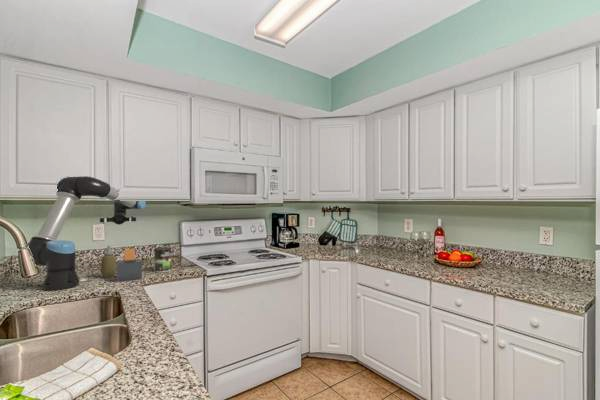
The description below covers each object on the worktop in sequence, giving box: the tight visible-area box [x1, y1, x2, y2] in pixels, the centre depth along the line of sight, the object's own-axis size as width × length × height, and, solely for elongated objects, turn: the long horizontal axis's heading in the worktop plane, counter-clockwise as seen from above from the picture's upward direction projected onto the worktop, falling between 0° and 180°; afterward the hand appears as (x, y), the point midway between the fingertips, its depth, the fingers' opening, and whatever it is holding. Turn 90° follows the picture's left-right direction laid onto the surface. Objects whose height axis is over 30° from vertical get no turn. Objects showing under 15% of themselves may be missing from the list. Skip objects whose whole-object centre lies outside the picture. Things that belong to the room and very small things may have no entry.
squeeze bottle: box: [100, 245, 117, 279], centre depth 177 cm, size 8×8×18 cm
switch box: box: [116, 258, 143, 283], centre depth 172 cm, size 12×8×10 cm, turn 118°
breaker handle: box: [122, 248, 136, 262], centre depth 170 cm, size 6×4×7 cm, turn 118°
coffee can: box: [153, 246, 173, 273], centre depth 192 cm, size 10×10×14 cm
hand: (117, 220), depth 190 cm, fingers open, 13 cm apart
